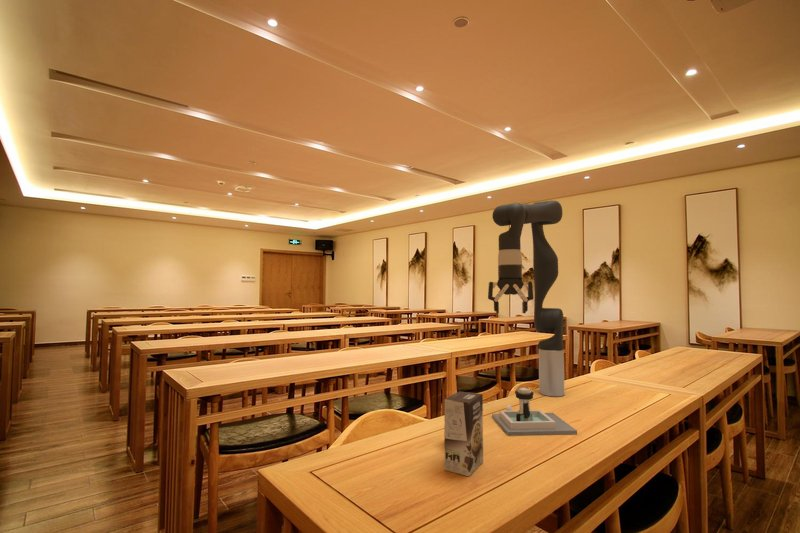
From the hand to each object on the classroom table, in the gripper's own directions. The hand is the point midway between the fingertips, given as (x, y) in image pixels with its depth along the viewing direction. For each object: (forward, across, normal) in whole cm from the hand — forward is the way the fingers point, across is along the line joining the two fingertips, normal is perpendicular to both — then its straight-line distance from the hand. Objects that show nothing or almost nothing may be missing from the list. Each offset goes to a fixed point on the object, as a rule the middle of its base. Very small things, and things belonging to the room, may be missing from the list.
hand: (510, 313), depth 130 cm
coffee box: (+33, +17, +38) cm, 54 cm away
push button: (+32, -3, +10) cm, 34 cm away
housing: (+33, -4, +8) cm, 34 cm away
